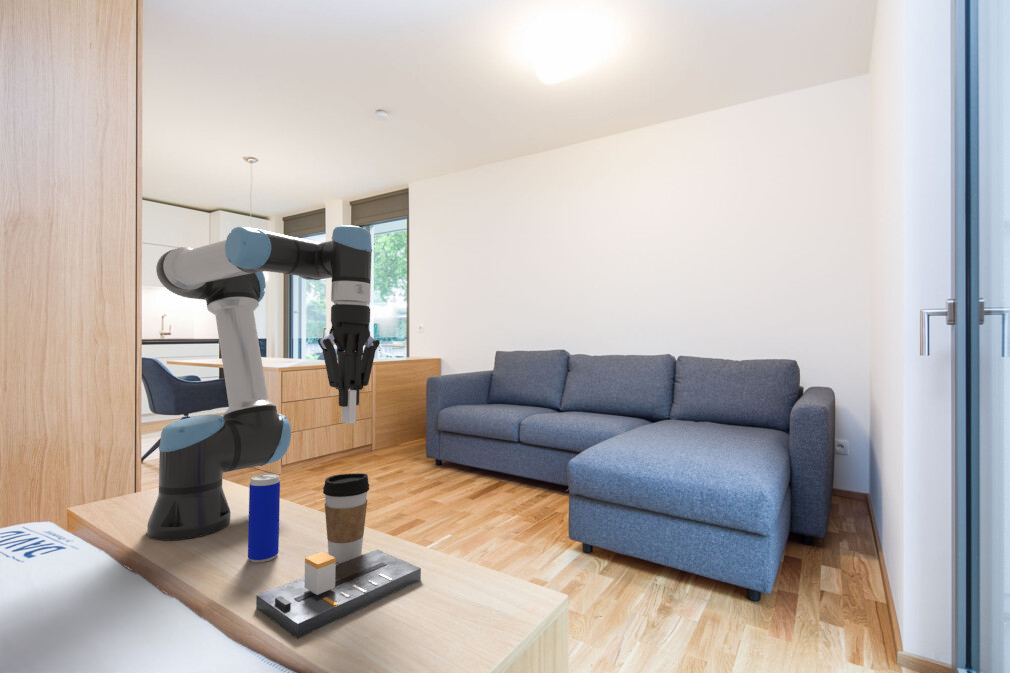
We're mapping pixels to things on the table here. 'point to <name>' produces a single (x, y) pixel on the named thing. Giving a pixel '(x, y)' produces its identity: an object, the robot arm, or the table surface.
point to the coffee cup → (345, 514)
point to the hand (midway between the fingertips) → (348, 422)
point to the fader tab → (320, 572)
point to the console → (337, 592)
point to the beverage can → (263, 517)
